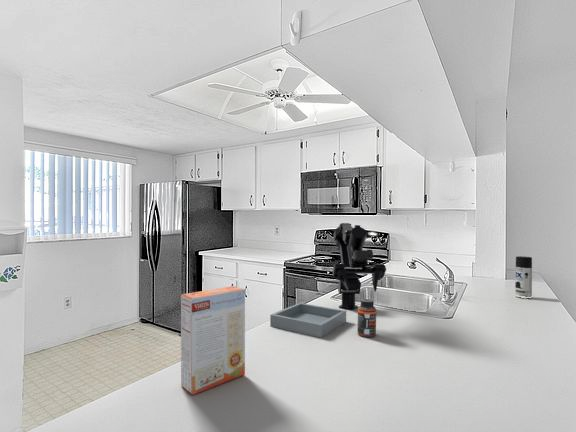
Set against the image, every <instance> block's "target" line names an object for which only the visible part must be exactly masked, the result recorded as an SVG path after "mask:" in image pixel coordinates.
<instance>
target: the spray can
mask: <svg viewBox="0 0 576 432" xmlns="http://www.w3.org/2000/svg"><path fill="white" fill-rule="evenodd" d="M514 287H515V290H514V291H515V292H514V293H515V294H516V295H519V296H525V297H531V296H533V294H532V293H533V258H532V256H515V286H514ZM515 294H514V295H515Z"/></svg>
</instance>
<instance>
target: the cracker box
mask: <svg viewBox="0 0 576 432" xmlns="http://www.w3.org/2000/svg"><path fill="white" fill-rule="evenodd" d="M245 307H246V289H244V288H240V287H237V286H235V285H229V286H224V287H219V288H212V289H207V290H202V291H194V292H189V293H182V294H181V295H180V386H181V387H182V388H183V389H184V390H186V391H187V392H188V393H189V394H190V395H191V396H194V395H196V394H199V393H201V392H203V391H207V390H210V389H213V388H215V387H216V386H219V385H222V384H225V383H227V382H229V381H232V380H235V379H238V378H240V377H242V376H244V375H246V308H245Z"/></svg>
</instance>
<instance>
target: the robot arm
mask: <svg viewBox="0 0 576 432" xmlns="http://www.w3.org/2000/svg"><path fill="white" fill-rule="evenodd" d="M367 235H368V231H367V230H366V229H365V228H363V227H361V225H359V224H358V225H357V224H355V225H354V227H353V226H352V223H349V222H348V223H347V222H346V223H345V222H341V223H339V225H338V227H336V228H335V230H334V232H333V241H334V243H335V246H336V247H337V248H338V249H339V252H340V253H339V254H340V261H341V263H333V268H332V277H333V278H334V279H336V280H338V285H337V292H338V294H340V295H341V304H340V305H338V308H340V309H345V310H352V311H353V310H355V309H358V307H359V305H358V304H356V295H360V294H361V286H362V282H361V279H359V277H358V276H359V275H360V274H367V275H370V274H371V277H372V278H371V281H372V287H373V291H374V292H377V289H378V288H377V287H378V282H379V281H380V280H381V279H384V277H385V274H386V271H387V267H386V265H385V264H384V263H374V264H373V265H372V267H367V266H368V265H369V264H368V263H369V262H368V261H369V260H372V259H373V258H374V252H373V249H366V250H363V247H364V246H365V242H366V239H367Z"/></svg>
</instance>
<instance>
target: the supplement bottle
mask: <svg viewBox="0 0 576 432" xmlns="http://www.w3.org/2000/svg"><path fill="white" fill-rule="evenodd" d="M356 332H357V334H358V335H359V336H361V337H364V338H373V337H375V336H376V335H377V333H376V332H377V308H376V307H375V306H374V299H373V300H372V299H370V298H364V299H362V298H361V299H360V305H358V307H357V331H356Z"/></svg>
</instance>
